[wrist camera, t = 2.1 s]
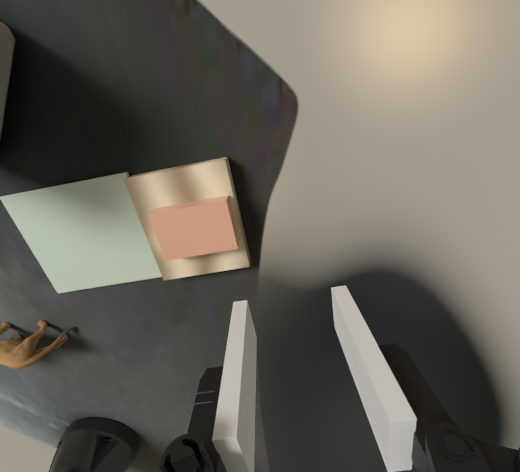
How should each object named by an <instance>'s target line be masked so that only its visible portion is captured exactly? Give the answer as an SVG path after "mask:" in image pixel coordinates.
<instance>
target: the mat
mask: <svg viewBox="0 0 520 472" xmlns="http://www.w3.org/2000/svg"><path fill="white" fill-rule="evenodd" d="M127 177H130V176H129V173H128V172H124V173H119V174H114V175H109V176H104V177H99V178H94V179H88V180H83V181H78V182H73V183H68V184H63V185H57V186H52V187H47V188H42V189H37V190H32V191H27V192H21V193H16V194H11V195H6V196H1V197H0V199H1V201H2V203H3V204H4V206H5V208H6V209H7V211H8V213H9V214H10V216H11V217H12V219H13V221H14V222H15V224H16V226H17V227H18V229H19V231H20V232H21V234H22V236H23V237H24V239H25V240H26V242H27V244H28V245H29V247H30V249H31V250H32V252H33V254H34V255H35V257H36V259H37V260H38V262H39V263H40V265H41V267H42V268H43V270H44V272H45V273H46V275H47V277H48V278H49V280H50V282H51V283H52V285H53V286H54V288H55V290H56V291H57V293H64V292H70V291H77V290H83V289H89V288H95V287H102V286H108V285H114V284H120V283H127V282H133V281H139V280H145V279H152V278H158V277H162V275H161V273H160V270H159V268H158V265H157V263H156V260H155V258H154V255H153V253H152V250H151V248H150V245H149V242H148V240H147V237H146V235H145V232H144V230H143V227H142V225H141V222H140V220H139V217H138V215H137V212H136V210H135V207H134V205H133V202H132V200H131V197H130V195H129V192H128V190H127V187H126V184H125V182H124V178H127Z"/></svg>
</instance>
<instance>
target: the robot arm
mask: <svg viewBox="0 0 520 472" xmlns="http://www.w3.org/2000/svg"><path fill="white" fill-rule="evenodd" d="M331 291H332V303H333V314H334V327H335V330H336V332H337V335H338V338H339V341H340V343H341V346H342V349H343V351H344V354H345V357H346V359H347V362H348V365H349V367H350V370H351V373H352V376H353V378H354V381H355V384H356V386H357V389H358V392H359V394H360V397H361V400H362V403H363V406H364V408H365V411H366V414H367V416H368V419H369V422H370V424H371V427H372V430H373V433H374V435H375V438H376V441H377V443H378V446H379V449H380V451H381V454H382V457H383V460H384V463H385V465H386V468H387V471H388V472H393V471H404V470H411V469H412V461H413V463H414V465H415V468H416V470H417V472H520V448H519V450H515V449H511V448H506V447H502V446H498V445H493V444H489V443H486V442H483V441H480V440H478V439H476V438H474V437H472V436H470V435H468V434H467V433H466V432H465V431H463V430H462V429H460V428H459V427H458V426H457V425H456V424H455V423H454V422H453V420H452V419H451V418H450V416H449V415H448V413H447V412H446V411H445V409H444V407H443V406H442V404H441V403H440V401H439V400H438V398H437V397H436V395H435V394H434V392H433V391H432V389H431V387H430V386H429V384H428V383H427V381H426V380H425V378H424V377H423V376H422V374H421V372H420V371H419V369H418V367H416V364H415V363H414V361H413V360H412V358H411V357H410V355H409V354H408V352H406V351H405V350H404V349H403V348H401V347H400V346H399V345H398V344H397V343H395V344H386V345H377V343H376V341H375V340H374V337H373V336H372V334H371V332H370V330H369V328H368V326H367V324H366V323H365V321H364V319H363V317H362V316H361V313H360V311H359V309H358V308H357V306H356V304H355V302H354V300H353V298H352V296H351V295H350V293H349V291H348V289H347V287H346V286H339V287H332V288H331ZM256 339H257V338H256V334H255V330H254V326H253V322H252V318H251V314H250V310H249V306H248V302H247V300H245V301H238V302H233V308H232V315H231V321H230V328H229V334H228V341H227V347H226V354H225V360H224V366H222V367H215V368H207V370H206V371H205V373H204V375H203V376H202V378H201V379H200V383H199V387H198V391H197V395H196V399H195V406H194V408H193V412H192V416H191V420H190V425H189V429H188V433H187V434H184V435H182V436H180V437H178V438H176V439H175V440H174V441H173V442H172V443H171V444H170V445H169V446H168V447H167V449H166V450H165V452H164V454H163V456H162V458H161V462H160V466H159V467H160V469H161V471H162V472H254V443H255V391H256ZM138 449H139V440H138V438H137V436H136V435H135V433H134V432H133V431H132V430H130V429H129V428H128V427H126V426H124V425H122V424H120V423H118V422H115V421H112V420H108V419H103V418H84V419H80V420H77V421H75V422H73V423H71V424H70V425H69V426H68V427H67V429H66V430H65V432H64V434H63V435H62V437H61V438H60V440H59V443H58V446H57V451H56V453H55V456H54V458H53V461H52V464H51V467H50V470H49V472H126V471H127V470H128V468H129V467H130V466H131V464H132V463H133V461H134V459H135V457H136V454H137V451H138Z"/></svg>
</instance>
